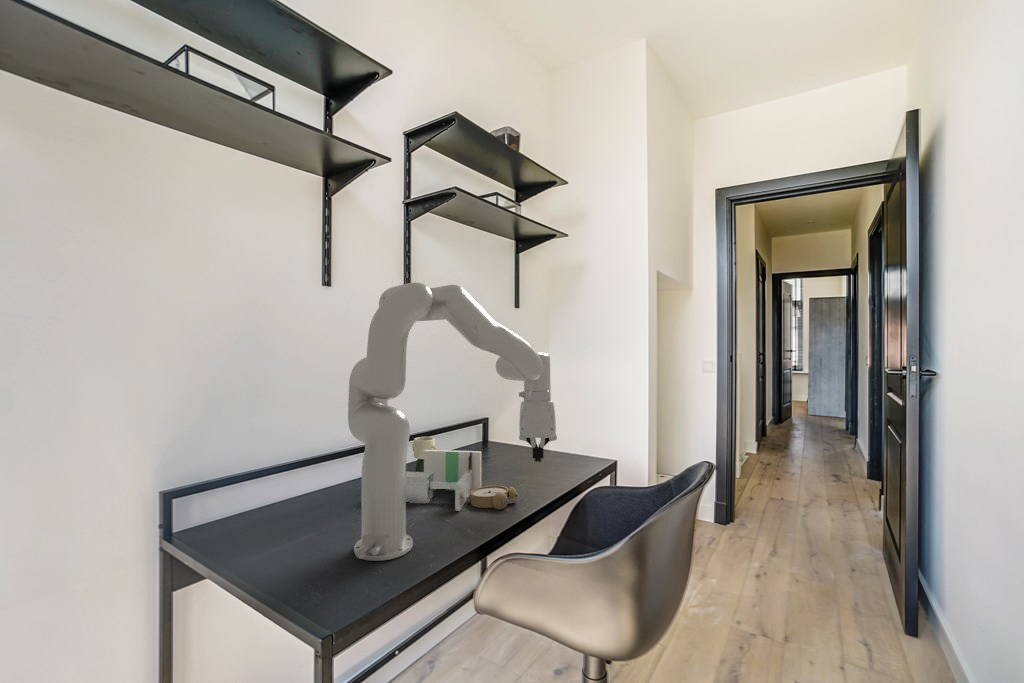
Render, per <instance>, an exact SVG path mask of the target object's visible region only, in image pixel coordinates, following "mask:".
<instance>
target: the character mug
mask: <svg viewBox="0 0 1024 683" xmlns="http://www.w3.org/2000/svg"><path fill="white" fill-rule="evenodd" d="M435 441H436V438H435V437H433V436H419V437H415V438H413V442H412V443H411V444H412V447H411V449H412V452H413V457H414V458H415V459H417V460H416V463H415V470H414V472H424V450H438V449H437V448H438V447H437V446H436V442H435Z"/></svg>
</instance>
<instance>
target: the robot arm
mask: <svg viewBox="0 0 1024 683" xmlns="http://www.w3.org/2000/svg"><path fill="white" fill-rule="evenodd" d="M440 320H441V321H443V320H446V321H447V322H448V323H449V324H450V325H451V326H452V327H453V328H454V329H455V330H456V331H457V332H458V333H460V335H462V337H464V339H466V341H468V343H469V344H470V345H471V346H473V347H476V348H477V349H480V350H481V351H482V350H483V351H485V352H488V353H491V354H494V355H495V356H498V359H497V360H496V362H495V371H496V373H497V374H498V375H499V376H500V378H503V379H505V380H508V381H519V382H523V391H521V392H520V391H519V392H518V397H519V398H523V400H522V401H521V402H520V410H519V422H518V423H519V424H518V426H519V436H518V439H519V440H520V441H523V442H527V443H528V445H530V446H531V448H532V459H534V463H537V462H538V463H541V462H542V459H544V455H545V454H544V447H545V446H546V445H547V444H548V443H549V442H555V441H557V439H558V437H557V436H558V435H557V429H556V428H557V424H556V423H557V422H556V410H555V404H554V401H553V400H551V398H552V397H551V394H552V393H551V391H552V390H551V357H550V355H549V353H547V352H537V351H536V350H535V349H534V348H533V347H532V346H531V345H530V344H529V343H528V342H527V341H526V340H525V339H523V338H522V337H521V336H519V335H518V334H517V333H515V332H513V331H511V330H510V329H508V328H507V327H506V326H504V325H502V324H500V323H498V321H496V320H494V319H493V317H492V316H490V315H489V313H487V311H486V310H485V309H484V308H483V307H482V306H481V305H480V304H479V303H478V302H477V301H476V300H475V299H474V298H473V296H472V295H470V293H469V292H468V291H467V290H466V289H464V288H463V287H462V286H460V285H457V284H448V285H443V286H442V285H441V286H438V287H437V286H436V287H428V286H427V285H425V283H420V282H408V283H407V282H406V283H405V284H404V283H403V284H401V285H396V286H392V287H389V288H388V289H386V290H384V291H383V292H382V293H381V295H380V297H379V300H378V308H377V310H376V311H375V313H374V314H373V316H372V319H371V322H370V324H369V330H368V333H367V334H368V336H367V347H366V357H363V358H362V359H360V360H359V361H357V362H356V363H355V365H354V366H353V368H352V370H351V372H350V376H349V381H348V404H347V405H348V407H347V421H348V422H347V424H348V429H349V432H350V433H351V435H352V436H353V437H354V439H356V440H358V441H359V442H361V443H363V444H364V445H365V446H364V452H363V457H362V462H361V538H360V539H359V540H358V541H357V542H356V543H355V544H354V546H353V552H354V555H355V556H356V557H357V559H361V560H365V561H370V562H372V561H373V562H381V561H382V562H383V561H388V560H393V559H397V558H400V557H402V556H404V555H406V554H407V553H409V552H410V551H411V550H412V548H413V546H414V540H413V537H411V536H410V535H409V534H407V532H406V531H407V528H406V527H407V503H406V472H407V454H408V453H407V452H408V447H409V446H408V445H409V441H410V435H411V428H410V423H409V420H408V418H407V416H406V414H404V413H403V412H402V411H401V410H400V409H398V408H397V407H394V406H390V405H388V404H389V403H388V400H389V401H391V400H394V399H396V398H398V397H400V395H402V393H403V392H404V390H405V387H406V376H407V367H406V366H407V346H408V338H409V334H410V331H411V329H412V327H413V326H414V325H415V324H416V322H428V321H429V322H430V321H440ZM537 438H540V442H539V444H537V441H536V440H537Z"/></svg>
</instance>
